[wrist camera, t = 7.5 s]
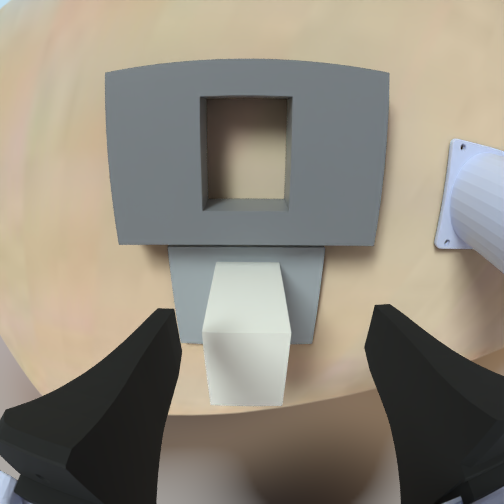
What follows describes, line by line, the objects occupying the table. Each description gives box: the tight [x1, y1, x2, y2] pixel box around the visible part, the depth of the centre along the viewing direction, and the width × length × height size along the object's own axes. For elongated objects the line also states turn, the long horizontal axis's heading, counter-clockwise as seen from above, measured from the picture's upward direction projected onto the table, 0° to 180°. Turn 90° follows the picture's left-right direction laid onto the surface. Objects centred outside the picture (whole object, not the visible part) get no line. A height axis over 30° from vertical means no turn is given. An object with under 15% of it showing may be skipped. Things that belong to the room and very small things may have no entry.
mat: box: [168, 245, 325, 344], centre depth 22 cm, size 10×8×1 cm
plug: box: [202, 262, 291, 406], centre depth 18 cm, size 4×6×7 cm
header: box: [105, 59, 389, 246], centre depth 16 cm, size 15×10×2 cm, turn 90°
